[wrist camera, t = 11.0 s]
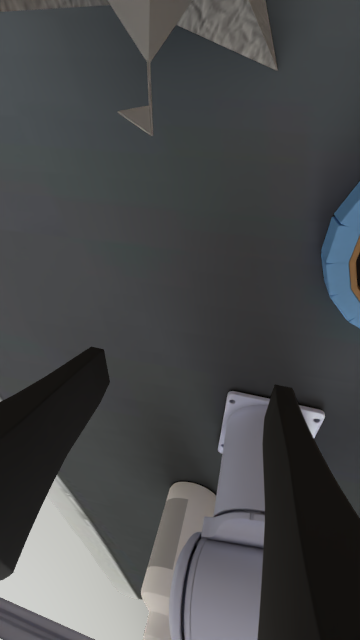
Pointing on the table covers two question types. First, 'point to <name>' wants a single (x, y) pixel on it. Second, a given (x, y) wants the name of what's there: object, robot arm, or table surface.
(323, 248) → the tape ring
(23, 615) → the robot arm
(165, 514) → the spray bottle
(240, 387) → the table surface
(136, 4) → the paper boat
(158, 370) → the table surface
